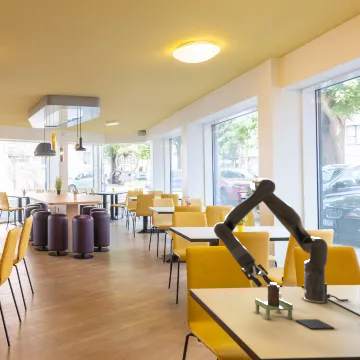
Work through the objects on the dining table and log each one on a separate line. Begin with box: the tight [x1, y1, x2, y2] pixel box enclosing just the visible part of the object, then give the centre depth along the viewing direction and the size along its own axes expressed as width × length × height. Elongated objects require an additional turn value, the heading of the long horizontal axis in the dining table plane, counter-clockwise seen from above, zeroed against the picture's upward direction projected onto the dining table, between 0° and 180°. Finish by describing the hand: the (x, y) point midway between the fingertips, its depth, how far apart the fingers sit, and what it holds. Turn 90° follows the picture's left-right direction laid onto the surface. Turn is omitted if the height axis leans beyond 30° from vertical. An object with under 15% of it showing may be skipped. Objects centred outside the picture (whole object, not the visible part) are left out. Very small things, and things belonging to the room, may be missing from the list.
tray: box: [254, 298, 294, 320], centre depth 180 cm, size 12×10×7 cm
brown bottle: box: [267, 282, 280, 307], centre depth 180 cm, size 5×5×10 cm
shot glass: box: [265, 290, 283, 302], centre depth 195 cm, size 7×7×7 cm
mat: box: [295, 318, 335, 330], centre depth 169 cm, size 10×10×1 cm
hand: (265, 284), depth 183 cm, fingers open, 8 cm apart
